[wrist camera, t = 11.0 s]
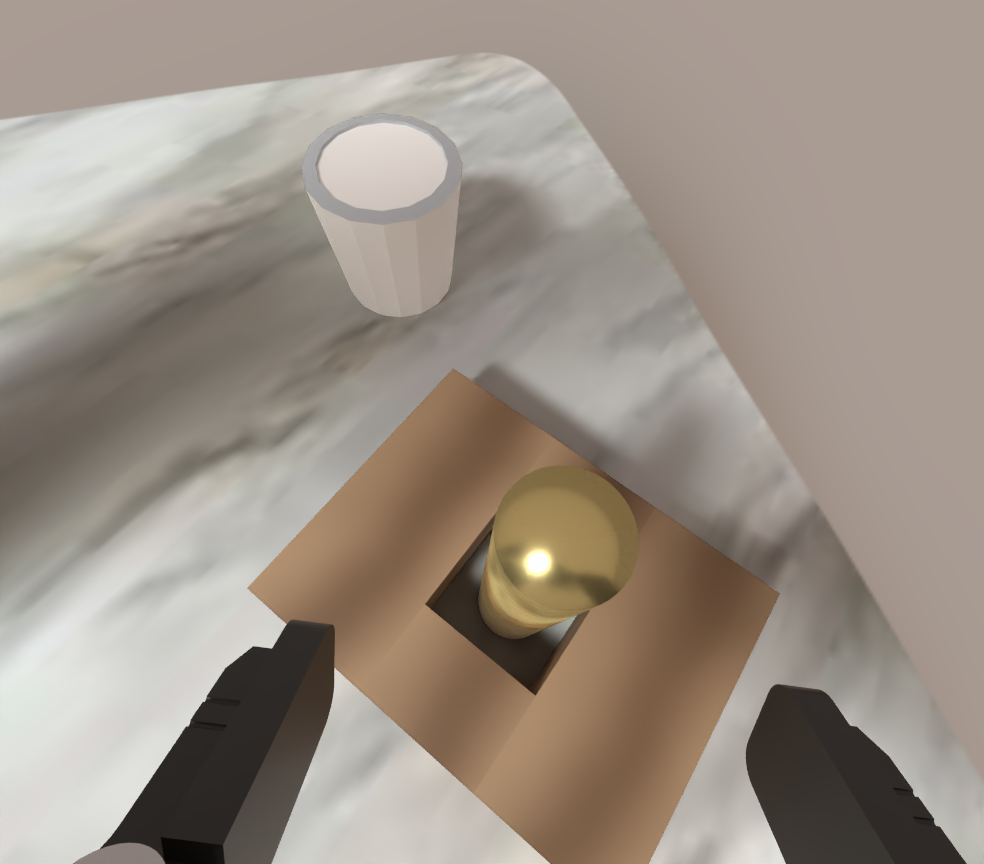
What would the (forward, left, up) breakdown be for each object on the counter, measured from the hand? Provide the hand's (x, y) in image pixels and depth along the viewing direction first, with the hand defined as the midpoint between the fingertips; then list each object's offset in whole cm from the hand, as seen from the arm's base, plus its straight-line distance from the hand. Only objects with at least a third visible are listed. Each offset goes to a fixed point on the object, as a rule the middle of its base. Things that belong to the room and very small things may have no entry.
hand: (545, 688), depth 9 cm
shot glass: (-16, +13, -12) cm, 24 cm away
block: (-1, +3, -12) cm, 12 cm away
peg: (-1, +3, -12) cm, 12 cm away
